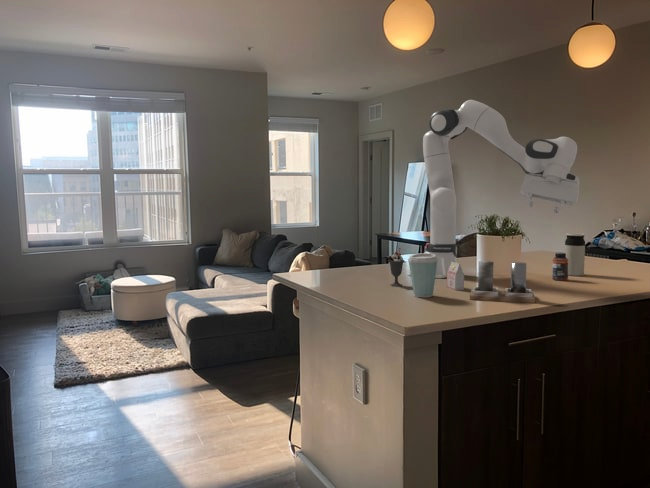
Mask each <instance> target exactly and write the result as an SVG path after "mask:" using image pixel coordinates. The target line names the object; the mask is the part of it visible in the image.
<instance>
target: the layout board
mask: <svg viewBox="0 0 650 488" xmlns="http://www.w3.org/2000/svg"><path fill="white" fill-rule="evenodd" d="M477 270H478V279H477V283H478V284H477V286H473V287H472V289H470V294H469V300H471V301H472V300H473V301H485V302H486V301H492V302H506V303H507V302H509V303H522V302H523V304H524V303H525V304H526V303H527V304H536V297H535V294H534V291H533V289H531V288H529V289H528V288H526V293H511V287H510V288H508V287H505V288H504V290H501V289H500V290H499V287H494V261H491V260H490V261H489V260H481V261H478V269H477Z"/></svg>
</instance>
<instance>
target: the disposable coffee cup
mask: <svg viewBox="0 0 650 488" xmlns="http://www.w3.org/2000/svg"><path fill="white" fill-rule="evenodd" d="M437 261H438V258H437V257H436V255H435V254H430V253H424V252H423V253H415V254H411V255H410V256H409V257H408V259H407V262H408V265H409V270H410V273H411V276H410V279H411V283H412V291H413V294H414V296H415V297H417V298H431V297H433V295H434V290H435V289H434V288H435V282H436V278H435V275H436V267H437Z"/></svg>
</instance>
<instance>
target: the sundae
mask: <svg viewBox="0 0 650 488" xmlns="http://www.w3.org/2000/svg"><path fill="white" fill-rule="evenodd" d="M401 248H402V247H398V250H397V251H395V252H394V253H393V254H392V255H389V256H388V260H387V261H388V262H389V265H390V272H391V275H392V276H393V277H394V282H393V283H390V285H392V286H391V287H403V284H401V283H400V282H399V277H400V276H401V274H402V272H403V264H404V262H405V259H404V258H403V256H402V254H401ZM398 251H399V252H398Z"/></svg>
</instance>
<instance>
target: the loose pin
mask: <svg viewBox="0 0 650 488" xmlns="http://www.w3.org/2000/svg"><path fill="white" fill-rule="evenodd" d="M510 288H511V293H526V289H527V262H525V261H524V262H523V261H511V262H510Z"/></svg>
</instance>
